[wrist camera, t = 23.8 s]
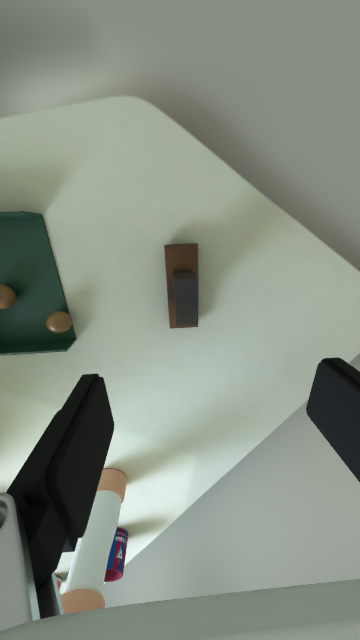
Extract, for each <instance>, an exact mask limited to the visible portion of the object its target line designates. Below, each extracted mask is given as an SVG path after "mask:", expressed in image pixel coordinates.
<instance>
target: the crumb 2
mask: <svg viewBox="0 0 360 640" xmlns="http://www.w3.org/2000/svg"><path fill="white" fill-rule="evenodd" d="M71 324H72V319H71V317H70V315H69V314H67V313H66V312H64V311H54V312H52V313H50V314H49V315H48V316H47V318H46V326H47V328H48V329H49V330H50V331H52V332H54V333H63V332H66V331H67V330H68V329H69V328H70V327H71Z"/></svg>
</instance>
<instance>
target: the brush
mask: <svg viewBox="0 0 360 640" xmlns="http://www.w3.org/2000/svg"><path fill="white" fill-rule="evenodd" d="M164 247H165V262H166V277H167V292H168V307H169V322H170V328H185V327H198V244H197V243H191V244H169V245H165V246H164Z"/></svg>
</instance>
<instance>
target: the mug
mask: <svg viewBox="0 0 360 640" xmlns="http://www.w3.org/2000/svg"><path fill="white" fill-rule="evenodd" d="M127 540H128V533H127V532H126V531H125V530H123V529H120V528H117V529H116V532H115V535H114V539H113V542H112V546H111V549H110V553H109V557H108V563H107V568H106V573H105V578H104V582H111V581H115V580H118V579H120V578H121V577H122V576H123V569H124V562H125V555H126V547H127Z"/></svg>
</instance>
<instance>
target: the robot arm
mask: <svg viewBox="0 0 360 640" xmlns="http://www.w3.org/2000/svg"><path fill="white" fill-rule="evenodd" d="M306 411H307V414H308V416H309V417H310V419H311V420H312V421H313V423H314V424H315V425H316V426H317V428H318V429H319V430H320V432H321V433H322V434H323V436H324V437H325V438H326V439H327V441H328V442H329V443H330V445H331V446H332V447H333V448H334V450H335V451H336V452H337V454H338V455H339V456H340V457H341V459H342V460H343V461H344V463H345V464H346V465H347V466H348V468H349V469H350V470H351V472H352V473H353V474H354V475H355V477H356V478H357V479H358V481H359V482H360V372H359V371H358V370H356V369H355V368H354V367H352V366H351V365H349V364H348V363H347V362H345V361H344V360H342V359H341V358H325V359H323V360H322V361H321V362H320V363H319V364H318V367H317V370H316V374H315V378H314V381H313V385H312V389H311V392H310V396H309V400H308V403H307V407H306ZM113 431H114V421H113V417H112V412H111V408H110V404H109V400H108V395H107V391H106V387H105V383H104V379H103V377H99V375H98V374H86V375H82V376H81V378H80V380H79V381H78V383H77V384H76V386H75V388H74V389H73V391H72V393H71V394H70V396H69V397H68V399H67V401H66V402H65V404H64V406H63V407H62V409H61V410H59V411H58V412H57V413H56V414H55V416H54V417H53V419H52V421H51V422H50V424H49V425H48V427H47V428H46V430H45V432H44V433H43V435H42V436H41V438H40V440H39V441H38V443H37V444H36V446H35V447H34V449H33V451H32V452H31V454H30V455H29V457H28V459H27V460H26V462H25V463H24V465H23V467H22V468H21V470H20V471H19V473H18V474H17V476H16V478H15V479H14V481H13V482H12V484H11V486H10V487H9V489H8V490H7V492H6V493H0V640H360V579H356V580H347V581H337V582H327V583H318V584H308V585H299V586H290V587H281V588H271V589H263V590H253V591H244V592H235V593H226V594H218V595H208V596H200V597H191V598H182V599H174V600H164V601H156V602H147V603H138V604H131V605H124V606H116V607H109V608H102V609H95V610H88V611H81V612H73V613H67V614H64V610H63V606H62V601H61V597H60V593H59V589H58V584H57V580H56V576H55V570H56V569H57V566H58V563H59V560H60V557H61V554H62V553H63V552H73V551H75V548H76V545H77V542H78V538H82V537H83V536H84V534H85V531H86V528H87V524H88V521H89V517H90V514H91V510H92V507H93V503H94V499H95V496H96V492H97V489H98V485H99V481H100V478H101V474H102V471H103V467H104V464H105V460H106V456H107V453H108V449H109V446H110V442H111V438H112V435H113Z"/></svg>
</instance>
